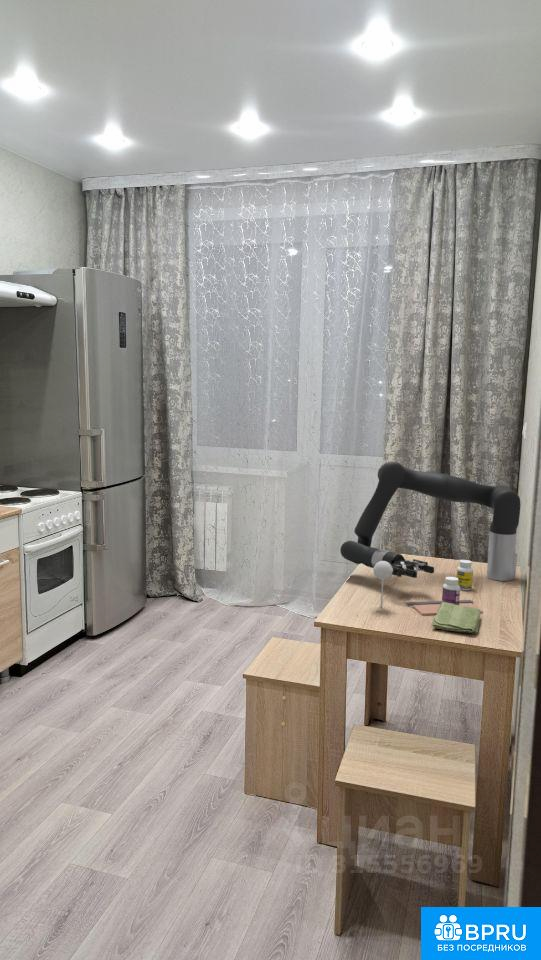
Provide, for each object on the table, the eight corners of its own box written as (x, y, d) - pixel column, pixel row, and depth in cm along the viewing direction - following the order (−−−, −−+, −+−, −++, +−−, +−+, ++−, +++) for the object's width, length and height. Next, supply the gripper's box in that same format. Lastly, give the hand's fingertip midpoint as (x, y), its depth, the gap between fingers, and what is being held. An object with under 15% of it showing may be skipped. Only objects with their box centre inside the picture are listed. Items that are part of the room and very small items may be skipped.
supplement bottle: (454, 589, 238) (456, 562, 236) (456, 585, 243) (458, 558, 241) (471, 591, 236) (472, 563, 234) (472, 587, 241) (474, 560, 239)
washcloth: (430, 629, 199) (431, 619, 198) (439, 609, 215) (440, 599, 214) (477, 637, 194) (478, 626, 193) (482, 616, 210) (483, 606, 209)
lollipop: (392, 605, 220) (394, 559, 218) (389, 611, 214) (391, 564, 212) (373, 602, 222) (375, 557, 220) (370, 608, 216) (371, 562, 214)
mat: (470, 601, 225) (470, 599, 225) (485, 613, 214) (486, 611, 214) (406, 603, 222) (406, 602, 221) (418, 615, 211) (418, 613, 211)
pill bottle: (459, 611, 213) (461, 581, 212) (441, 609, 214) (443, 580, 213) (458, 605, 219) (460, 576, 217) (441, 604, 220) (443, 575, 218)
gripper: (373, 554, 232) (411, 565, 219) (402, 548, 240) (439, 558, 228) (373, 576, 233) (410, 587, 220) (401, 569, 241) (438, 580, 229)
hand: (425, 572), depth 224 cm, fingers open, 8 cm apart
